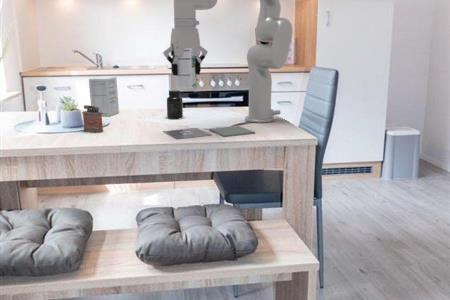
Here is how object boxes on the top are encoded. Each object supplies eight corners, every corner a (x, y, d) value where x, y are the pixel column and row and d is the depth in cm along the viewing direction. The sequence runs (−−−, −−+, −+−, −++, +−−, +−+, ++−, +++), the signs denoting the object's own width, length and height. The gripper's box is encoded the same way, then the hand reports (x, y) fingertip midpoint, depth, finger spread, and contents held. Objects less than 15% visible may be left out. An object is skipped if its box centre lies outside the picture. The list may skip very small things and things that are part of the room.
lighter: (105, 131, 172) (103, 105, 170) (100, 133, 169) (98, 106, 167) (87, 129, 175) (85, 104, 172) (81, 131, 172) (79, 105, 169)
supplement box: (119, 113, 211) (117, 76, 207) (110, 116, 202) (108, 78, 198) (100, 112, 213) (98, 76, 209) (90, 115, 204) (88, 78, 200)
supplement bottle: (169, 116, 203) (169, 89, 200) (184, 116, 202) (184, 89, 199) (165, 119, 197) (164, 91, 194) (180, 119, 196) (179, 91, 193)
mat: (237, 127, 180) (237, 125, 180) (255, 133, 169) (255, 131, 169) (208, 130, 174) (208, 128, 174) (224, 136, 163) (224, 135, 163)
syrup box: (192, 89, 161) (191, 47, 157) (176, 89, 162) (175, 47, 159) (196, 87, 167) (195, 47, 163) (181, 87, 168) (180, 47, 164)
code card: (196, 128, 178) (196, 127, 178) (212, 135, 166) (212, 134, 166) (162, 131, 171) (162, 131, 171) (176, 139, 159) (176, 138, 159)
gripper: (203, 24, 166) (203, 72, 170) (157, 24, 158) (159, 75, 162) (212, 24, 159) (212, 74, 164) (165, 24, 152) (167, 76, 156)
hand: (186, 74), depth 163 cm, fingers closed on syrup box, 8 cm apart
